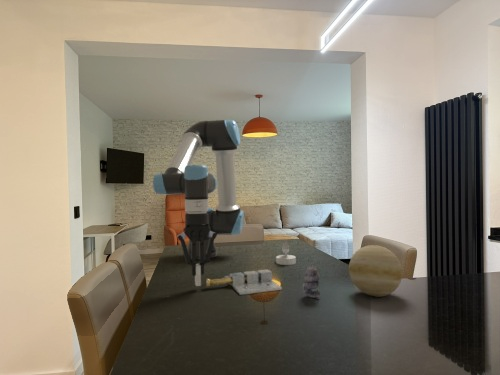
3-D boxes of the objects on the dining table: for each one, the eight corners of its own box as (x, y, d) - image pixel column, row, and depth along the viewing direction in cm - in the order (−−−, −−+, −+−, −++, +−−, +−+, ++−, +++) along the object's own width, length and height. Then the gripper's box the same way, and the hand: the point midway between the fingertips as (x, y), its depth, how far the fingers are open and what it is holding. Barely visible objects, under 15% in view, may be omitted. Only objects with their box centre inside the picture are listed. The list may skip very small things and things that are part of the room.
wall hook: (275, 243, 135) (275, 239, 145) (275, 265, 135) (276, 260, 145) (296, 243, 134) (295, 239, 144) (296, 265, 134) (295, 260, 144)
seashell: (321, 295, 97) (320, 262, 97) (319, 301, 92) (318, 267, 92) (303, 294, 99) (303, 261, 99) (300, 300, 94) (300, 265, 94)
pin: (206, 286, 107) (206, 277, 107) (251, 280, 112) (251, 272, 112) (207, 288, 104) (207, 279, 104) (253, 283, 109) (253, 274, 109)
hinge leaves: (224, 278, 117) (224, 268, 117) (260, 274, 122) (259, 264, 122) (240, 295, 99) (239, 282, 99) (281, 289, 103) (281, 277, 103)
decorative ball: (347, 300, 93) (346, 248, 93) (351, 285, 106) (350, 240, 106) (404, 306, 87) (403, 251, 87) (401, 290, 101) (400, 242, 101)
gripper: (177, 214, 99) (178, 290, 99) (218, 212, 103) (220, 285, 103) (175, 212, 106) (176, 283, 106) (214, 210, 110) (215, 279, 110)
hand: (198, 284), depth 105 cm, fingers closed
